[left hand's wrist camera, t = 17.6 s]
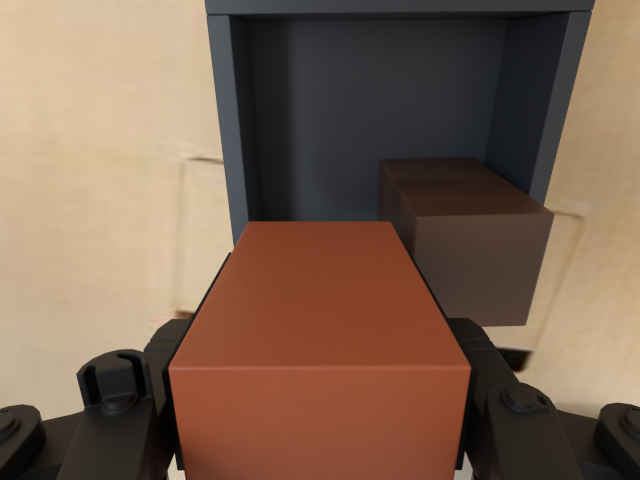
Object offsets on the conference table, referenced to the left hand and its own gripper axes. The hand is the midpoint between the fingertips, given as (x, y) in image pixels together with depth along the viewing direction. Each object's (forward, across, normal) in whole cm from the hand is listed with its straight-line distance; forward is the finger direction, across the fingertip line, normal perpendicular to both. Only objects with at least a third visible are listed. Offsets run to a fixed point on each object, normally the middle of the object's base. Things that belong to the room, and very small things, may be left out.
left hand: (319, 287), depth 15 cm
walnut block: (+9, -6, -1) cm, 10 cm away
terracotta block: (0, 0, 0) cm, 0 cm away
